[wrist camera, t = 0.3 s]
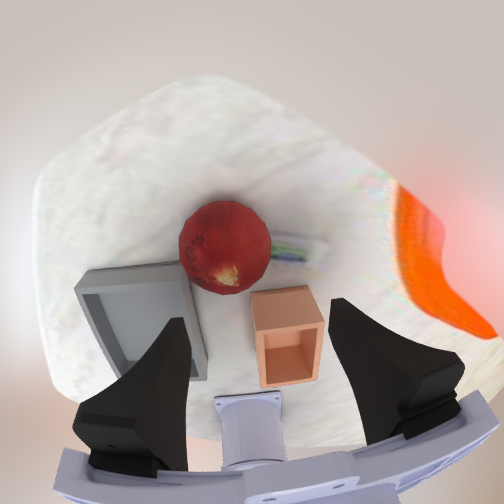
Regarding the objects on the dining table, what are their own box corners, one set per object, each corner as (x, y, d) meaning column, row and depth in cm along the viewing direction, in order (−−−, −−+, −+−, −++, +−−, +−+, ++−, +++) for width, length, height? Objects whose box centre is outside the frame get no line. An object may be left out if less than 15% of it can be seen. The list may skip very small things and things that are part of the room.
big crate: (207, 358, 27) (207, 380, 24) (125, 360, 26) (119, 380, 24) (185, 260, 22) (180, 279, 19) (87, 270, 21) (73, 288, 19)
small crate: (304, 343, 27) (317, 380, 23) (255, 349, 27) (261, 388, 22) (307, 285, 24) (324, 321, 19) (250, 292, 24) (256, 330, 19)
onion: (205, 271, 23) (199, 339, 15) (173, 208, 20) (146, 256, 13) (273, 245, 22) (296, 305, 15) (246, 177, 20) (259, 209, 12)
